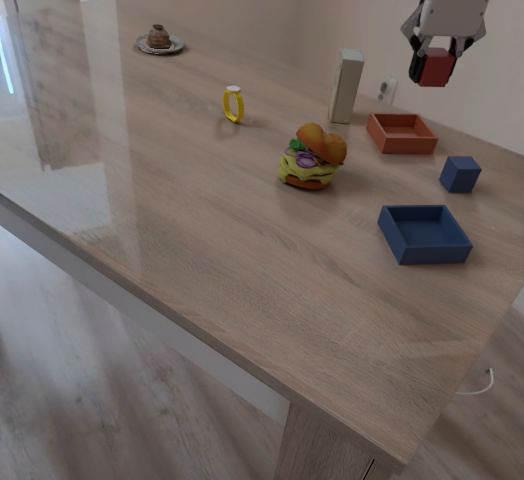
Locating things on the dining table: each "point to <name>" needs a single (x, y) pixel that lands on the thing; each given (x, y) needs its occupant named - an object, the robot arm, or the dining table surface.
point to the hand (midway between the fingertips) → (428, 79)
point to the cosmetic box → (346, 85)
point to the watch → (240, 105)
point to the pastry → (160, 40)
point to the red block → (436, 67)
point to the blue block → (460, 174)
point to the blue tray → (423, 234)
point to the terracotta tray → (401, 133)
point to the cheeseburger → (312, 157)
